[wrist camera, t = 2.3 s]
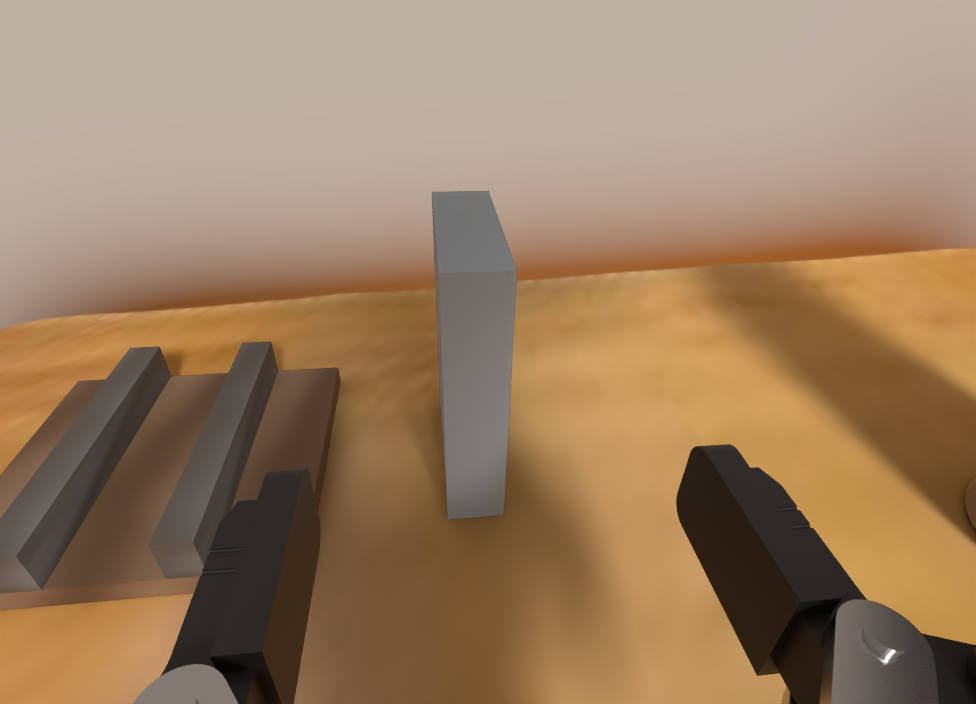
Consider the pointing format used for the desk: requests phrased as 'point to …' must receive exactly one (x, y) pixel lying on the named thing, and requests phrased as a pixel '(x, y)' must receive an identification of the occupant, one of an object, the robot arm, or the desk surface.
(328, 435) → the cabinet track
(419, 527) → the desk surface
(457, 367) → the door panel
